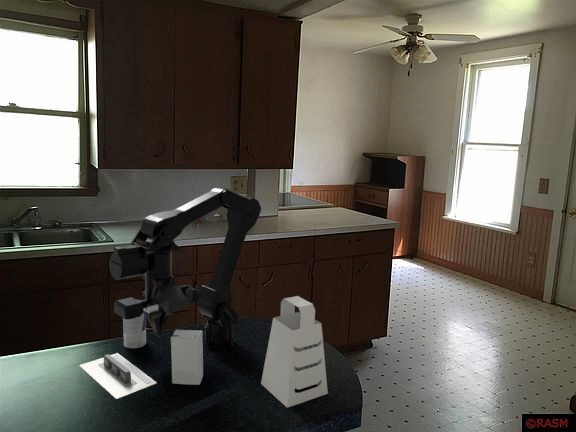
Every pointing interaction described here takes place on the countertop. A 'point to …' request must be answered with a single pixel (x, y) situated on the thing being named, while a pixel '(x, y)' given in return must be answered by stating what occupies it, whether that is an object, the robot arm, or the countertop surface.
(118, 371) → the breaker paddles
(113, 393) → the breaker panel
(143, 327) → the energy drink
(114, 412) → the countertop surface
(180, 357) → the skincare box
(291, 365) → the grater
